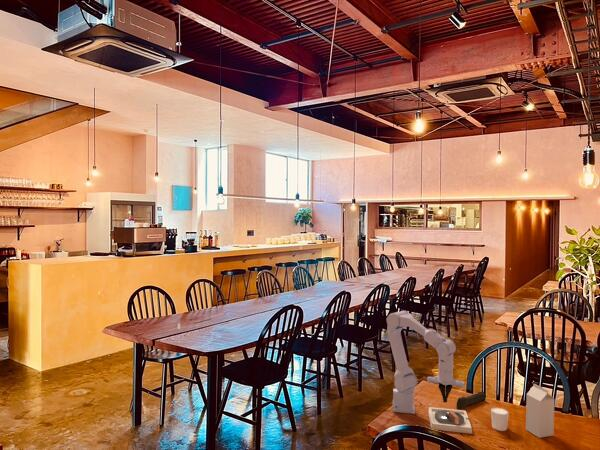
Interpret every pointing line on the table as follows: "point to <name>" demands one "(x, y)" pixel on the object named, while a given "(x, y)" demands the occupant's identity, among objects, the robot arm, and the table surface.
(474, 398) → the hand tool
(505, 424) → the white cylinder
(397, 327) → the robot arm
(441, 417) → the dial
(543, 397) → the milk carton
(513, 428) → the table surface
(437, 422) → the dial plate
